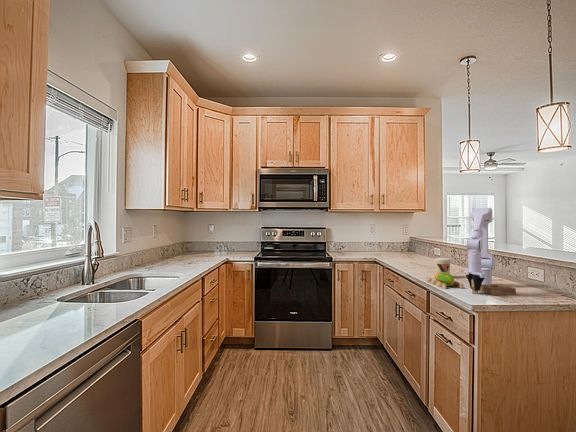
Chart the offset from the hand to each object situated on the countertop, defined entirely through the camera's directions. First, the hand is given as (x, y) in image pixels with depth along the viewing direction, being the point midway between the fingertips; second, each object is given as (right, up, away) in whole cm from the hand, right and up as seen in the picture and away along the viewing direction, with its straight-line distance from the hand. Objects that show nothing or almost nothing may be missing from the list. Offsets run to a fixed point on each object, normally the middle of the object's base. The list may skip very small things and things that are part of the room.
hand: (475, 289), depth 173 cm
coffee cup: (+4, -2, +46) cm, 46 cm away
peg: (0, -2, 0) cm, 2 cm away
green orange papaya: (-6, -3, +23) cm, 24 cm away
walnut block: (+12, -2, +2) cm, 12 cm away
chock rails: (-5, -2, +23) cm, 24 cm away
